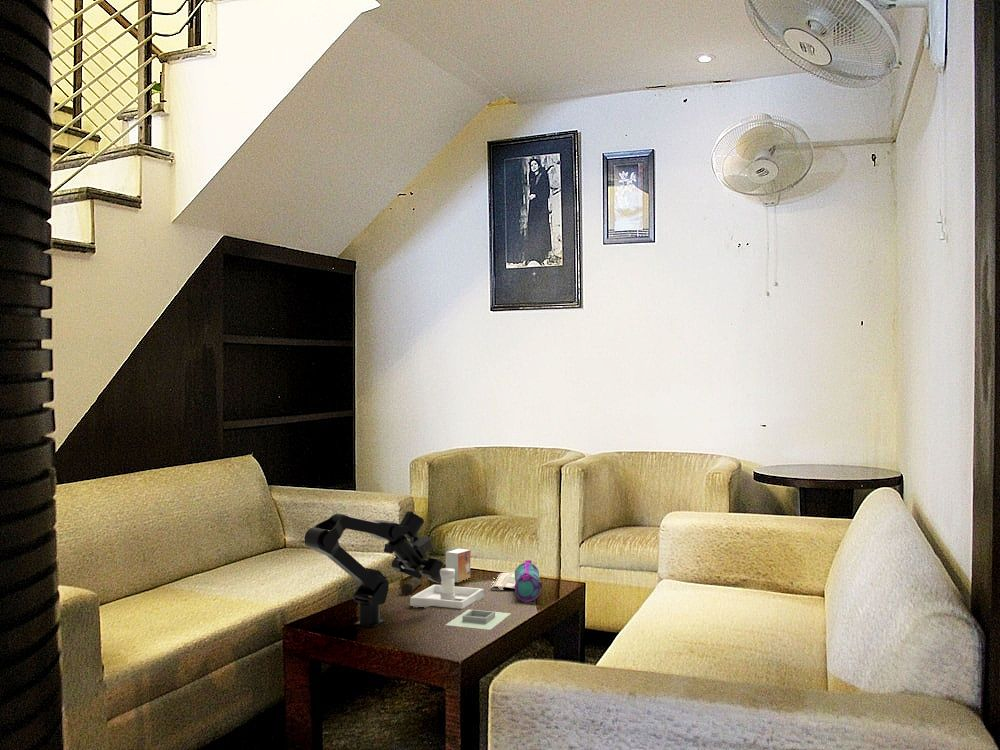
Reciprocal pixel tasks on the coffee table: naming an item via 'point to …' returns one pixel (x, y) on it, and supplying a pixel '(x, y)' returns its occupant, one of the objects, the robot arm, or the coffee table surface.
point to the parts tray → (433, 599)
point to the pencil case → (527, 582)
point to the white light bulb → (447, 583)
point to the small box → (459, 563)
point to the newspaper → (504, 581)
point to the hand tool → (411, 584)
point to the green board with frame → (478, 619)
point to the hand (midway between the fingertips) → (430, 579)
